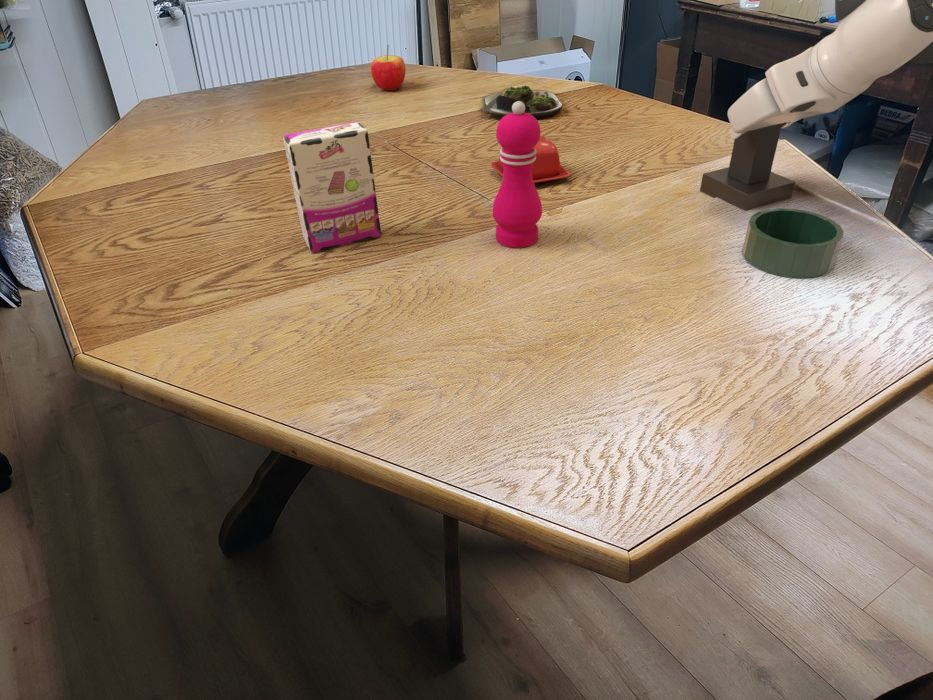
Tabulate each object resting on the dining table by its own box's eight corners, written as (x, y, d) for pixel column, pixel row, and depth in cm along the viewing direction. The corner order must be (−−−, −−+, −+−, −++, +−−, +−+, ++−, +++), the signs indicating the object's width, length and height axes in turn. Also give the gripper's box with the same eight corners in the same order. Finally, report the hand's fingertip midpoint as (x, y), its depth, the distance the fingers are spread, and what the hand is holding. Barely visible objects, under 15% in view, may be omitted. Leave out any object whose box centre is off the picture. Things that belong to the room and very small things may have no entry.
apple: (410, 84, 172) (407, 42, 166) (401, 94, 165) (398, 50, 159) (379, 84, 173) (374, 42, 167) (369, 93, 167) (364, 50, 161)
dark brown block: (748, 170, 112) (761, 108, 107) (769, 179, 109) (784, 116, 103) (727, 175, 111) (739, 113, 105) (747, 184, 108) (761, 121, 102)
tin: (784, 233, 100) (792, 201, 97) (852, 267, 92) (863, 233, 89) (723, 252, 96) (730, 219, 93) (788, 289, 88) (798, 254, 85)
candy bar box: (371, 224, 107) (358, 119, 98) (382, 237, 103) (369, 129, 94) (301, 240, 103) (280, 133, 94) (310, 254, 100) (289, 143, 90)
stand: (745, 178, 117) (748, 161, 115) (791, 199, 110) (795, 181, 108) (699, 190, 114) (702, 173, 112) (744, 212, 106) (748, 194, 105)
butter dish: (573, 182, 118) (576, 133, 113) (512, 193, 115) (512, 143, 110) (545, 160, 127) (546, 114, 122) (487, 170, 124) (486, 123, 119)
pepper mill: (534, 252, 98) (538, 111, 86) (486, 246, 100) (484, 107, 88) (546, 230, 104) (551, 95, 92) (500, 225, 106) (500, 92, 94)
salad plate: (476, 97, 161) (476, 76, 159) (551, 93, 162) (552, 73, 159) (483, 123, 146) (483, 101, 143) (566, 118, 146) (567, 96, 144)
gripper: (870, 46, 97) (798, 100, 110) (762, 67, 90) (699, 121, 103) (888, 86, 96) (813, 135, 109) (781, 110, 89) (714, 159, 102)
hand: (757, 129), depth 106 cm, fingers open, 8 cm apart
